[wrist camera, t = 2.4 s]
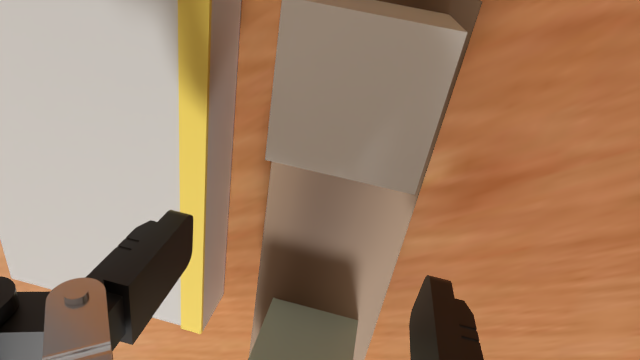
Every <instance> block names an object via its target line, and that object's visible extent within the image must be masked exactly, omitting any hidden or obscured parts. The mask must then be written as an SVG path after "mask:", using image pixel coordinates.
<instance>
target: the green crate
mask: <svg viewBox="0 0 640 360" xmlns="http://www.w3.org/2000/svg"><path fill="white" fill-rule="evenodd" d="M357 326H358V320H355V319H351V318H348V317H344V316H340V315H336V314H333V313H329V312H325V311H321V310H317V309H314V308H310V307H306V306H302V305H299V304H295V303H291V302H287V301H283V300H280V299H276V298H273V299H272V302H271V304H270V307H269V309H268V312H267V314H266V317H265V319H264V322H263V324H262V327H261V329H260V331H259V334H258V336H257V339H256V341H255V344H254V346H253V349H252V351H251V354H250V356H249V359H248V360H353V356H354V349H355V341H356V334H357Z"/></svg>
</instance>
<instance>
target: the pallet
mask: <svg viewBox="0 0 640 360" xmlns="http://www.w3.org/2000/svg"><path fill="white" fill-rule="evenodd" d="M377 1H382V2H387V3H392V4H398V5H403V6H408V7H413V8H418V9H423V10H429V11H434V12H439V13H444V14H449V15H450V16H451V17H452V18H453V19H454V20H455V21H456V22H457V23H458V24H459V25H460V26H461V27H462V28H464V29H465V30H466V31H467V36H466V39H465V42H464V45H463V48H462V51H461V54H460V57H459V60H458V63H457V66H456V69H455V73H454V76H453V79H452V82H451V85H450V88H449V91H448V94H447V97H446V100H445V103H444V106H443V110H442V113H441V116H440V119H439V122H438V125H437V128H436V131H435V134H434V137H433V140H432V143H431V147H430V150H429V153H428V156H427V159H426V162H425V165H424V168H423V171H422V174H421V177H420V180H419V184H418V187H417V190H416V193H415V195H413V194H409V193H405V192H400V191H396V190H392V189H388V188H383V187H379V186H375V185H370V184H366V183H362V182H358V181H353V180H349V179H345V178H341V177H336V176H332V175H328V174H323V173H319V172H315V171H311V170H306V169H302V168H298V167H294V166H289V165H285V164H281V163H276V162H272V163H271V172H270V181H269V189H268V198H267V207H266V215H265V224H264V233H263V241H262V250H261V259H260V267H259V276H258V285H257V293H256V302H255V311H254V319H253V328H252V337H251V345H250V354H251V351H252V349H253V346H254V344H255V341H256V339H257V336H258V334H259V331H260V329H261V327H262V324H263V322H264V319H265V317H266V314H267V312H268V309H269V307H270V304H271V302H272V299H273V298H276V299H280V300H283V301H287V302H291V303H295V304H299V305H302V306H306V307H310V308H314V309H317V310H321V311H325V312H329V313H333V314H336V315H340V316H344V317H348V318H351V319H355V320H358V326H357V334H356V341H355V349H354V356H353V360H364V359H365V356H366V353H367V350H368V347H369V344H370V341H371V338H372V335H373V332H374V329H375V326H376V323H377V320H378V317H379V313H380V310H381V307H382V304H383V301H384V298H385V295H386V292H387V289H388V286H389V283H390V280H391V277H392V274H393V271H394V268H395V265H396V262H397V259H398V256H399V253H400V250H401V247H402V244H403V241H404V238H405V235H406V232H407V229H408V226H409V222H410V219H411V216H412V213H413V210H414V207H415V204H416V201H417V198H418V195H419V192H420V189H421V186H422V183H423V180H424V177H425V174H426V171H427V168H428V165H429V162H430V159H431V156H432V153H433V150H434V147H435V144H436V141H437V138H438V135H439V131H440V128H441V125H442V122H443V119H444V116H445V113H446V110H447V107H448V104H449V101H450V98H451V95H452V92H453V89H454V86H455V83H456V80H457V77H458V74H459V71H460V68H461V65H462V62H463V59H464V56H465V53H466V50H467V47H468V44H469V40H470V37H471V34H472V31H473V28H474V25H475V22H476V19H477V16H478V13H479V10H480V7H481V4H482V1H480V0H377ZM250 354H249V356H250Z"/></svg>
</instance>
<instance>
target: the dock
mask: <svg viewBox="0 0 640 360" xmlns="http://www.w3.org/2000/svg"><path fill="white" fill-rule="evenodd" d="M241 1H242V0H0V240H1V243H2V247H3V250H4V254H5V257H6V261H7V264H8V268H9V272H10V275H11V278H12V279H16V280H19V281H23V282H27V283H30V284H34V285H37V286H41V287H45V288H48V289H52V290H53V289H54V288H55V287H56V286H58V285H59V284H61V283H63V282H65V281H68V280H71V279H75V278H85V277H86V276H87V275H88V274H89V273H90V272H91V271H92V270H93V269H94V268H95V267H96V266H97V265H98V264H99V263H101V262H102V261H103V260H104V259H105V258H106V257H107V256H108V255H109V254H110V253H111V252H112V251H113V250H114V249H115V248H117V247H118V245H119V244H120V243H121V242H122V241H123V240H124V239H126V237H127V236H128V235H129V234H130V233H131V232H132V231H133V230H134V229H135V228H136V227H138V226H140V225H142V224H144V223H146V222H148V221H150V220H152V221H156V222H158V221H159V220H160V219H161V218H162V217H163V216H164V215H165V213H166V212H167V211H169V210H174V211H178V212H182V213H186V214H190V215H192V216H193V249H192V256H191V259H190V262H189V264H188V266H187V268H186V269H185V271H184V272H183V274H182V275H181V277H180V278H179V279H178V281H177V282H176V284H175V285H174V287H173V288H172V289H171V291H170V292H169V294H168V295H167V297H166V298H165V299H164V301H163V302H162V304H161V305H160V307H159V308H158V309H157V311H156V312H155V314H154V315H153V316H152V317H153V318H156V319H160V320H163V321H167V322H171V323H174V324H178V325H181V329H184V330H188V331H191V332H195V333H199V334H201V333H202V332H203V330H204V328H205V326H206V325H207V323H208V321H209V319H210V317H211V316H212V314H213V312H214V310H215V309H216V307H217V305H218V303H219V302H220V300H221V298H222V296H223V294H224V280H225V263H226V247H227V230H228V214H229V198H230V181H231V165H232V148H233V132H234V116H235V99H236V83H237V66H238V50H239V34H240V17H241Z"/></svg>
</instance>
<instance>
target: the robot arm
mask: <svg viewBox="0 0 640 360" xmlns="http://www.w3.org/2000/svg"><path fill="white" fill-rule="evenodd" d="M192 249H193V216H192V215H190V214H186V213H182V212H178V211H174V210H169V211H167V212H166V213H165V215H164V216H163V217H162V218H161V219H160V220H159V221H158V222H156V221H152V220H150V221H148V222H146V223H144V224H142V225H140V226H138V227H136V228H135V229H134V230H133V231H132V232H131V233H130V234H129V235H128V236H127V237H126V239H124V240H123V241H122V242H121V243H120V244H119V245H118V247H117V248H115V249H114V250H113V251H112V252H111V253H110V254H109V255H108V256H107V257H106V258H105V259H104V260H103V261H102V262H101V263H99V264H98V265H97V266H96V267H95V268H94V269H93V270H92V271H91V272H90V273H89V274H88V275H87V276H86V277H85V278H75V279H71V280H68V281H65V282H63V283H61V284H59V285H58V286H56V287H55V288H54V289H53V290H52V291H51V292H17V291H16V288H15V284H14V283H13V281H11V280H10V279H8V278H5V277H0V360H113V354H112V351H113V350H114V348H115V347H116V346H117V344H118V343H119V342H120V341H121V342H125V343H128V344H132V345H133V344H134V342H135V341H136V339H137V338H138V336H139V335H140V334H141V332H142V331H143V329H144V328H145V326H146V325H147V324H148V322H149V321H150V319H151V318H152V316H153V315H154V314H155V312H156V311H157V309H158V308H159V307H160V305H161V304H162V302H163V301H164V299H165V298H166V297H167V295H168V294H169V292H170V291H171V289H172V288H173V287H174V285H175V284H176V282H177V281H178V279H179V278H180V277H181V275H182V274H183V272H184V271H185V269H186V268H187V266H188V264H189V262H190V259H191V256H192ZM409 329H410V354H411V360H484V359H483V355H482V351H481V346H480V343H479V337H478V333H477V331H476V324H475V320H474V315H473V313H472V312H471V310H470V309H469V307H468V306H467V304H466V303H465V301H463V300H459V299H455V298H454V293H453V288H452V283H451V281H448V280H445V279H441V278H437V277H433V276H429V275H427V276H426V278H425V279H424V282H423V284H422V287H421V289H420V292H419V294H418V296H417V299H416V301H415V304H414V306H413V309H412V312H411V317H410V325H409Z"/></svg>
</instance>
